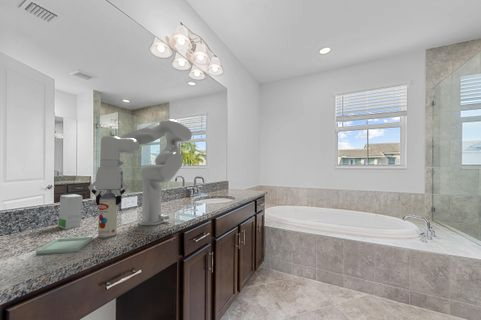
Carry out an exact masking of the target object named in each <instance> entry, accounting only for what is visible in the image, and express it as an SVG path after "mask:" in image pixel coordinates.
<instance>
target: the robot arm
mask: <svg viewBox="0 0 481 320" xmlns="http://www.w3.org/2000/svg"><path fill="white" fill-rule="evenodd" d="M162 137H166V138H165V140H166V144H165V145H166V146H165V147H164V148H163V150H161V152H159V154H158V155H157V156H156V157H155V161H154V163H155V164H154V163H153V164H147V165H145V166H144V167H143V168H142V169H141V174H140V175H141V181H142V204H141V205H142V206H141V209H142V210H141V211H142V212H141V219H140V220H139V221H138V225H140V226H147V227H149V226H156V225H161V224H163V223H164V222H165V220H169V219H170V215H168V214H165V215H164V214H163V212H162V194H163V192H162V191H163V190H162V185H161V183H162V184H163V183H168V182H170V181H172V180H173V178H174V177H175V175H176V174H177V173H178V172H179V170H180V169H181V168H182V165H183V162H184V158H183V155H182V154H181V153H180V148H179V147H180V146H179V144H178V143H184V142H185V143H187V142H189V141H190V140H191V139H192V137H193V135H192V131H191V129H190V128H189V127H188V126H186V125H184V124H183V123H181V122H179V121H178V120H175V119H161V120H158V121H156V122H154V123H152V124H149V125H147V126H145V127H142V128H139V129H136V130H133V131H131V132H127V133H125V134H123V135H122V134H121V135H120V136H113V135H104V136H101V138H100V149H99V150H100V152H99V155H100V157H99V167H97V170H96V175H95V181H94V182H93V183H91V184H89V186H88V187H87V188H88V190H89V191H90V192H91V193H92V194H93V195H94V196H95V203H96V206H99V201H100V197H102V196H103V195H101V194H102V193H103V191H107V190H111V191H115V193H116V194H117V195H115V196H116V205H118V206H119V205H120V204H121V203H122V195H123V194H125V192H126V191H127V190H129V189H130V185H128V184H127V183H126V182H124V172H123V167H121V166H123V165H124V161H121V155H132V154H136V153H137V152H138V151H139V149H140V146H141V145H145V144H146V145H147V144H151V143H153V142H155V141H157V140H158V139H160V138H162Z"/></svg>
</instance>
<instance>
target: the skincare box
mask: <svg viewBox="0 0 481 320" xmlns="http://www.w3.org/2000/svg"><path fill="white" fill-rule="evenodd" d="M82 207H83V195H80V194H76V193H72V194H62V195H60V197H59V208H58V210H59V211H58V224H57V226H58V228H61V229H64V230H69V229H73V228H79V227H81V221H82V211H83V210H82V209H83V208H82Z"/></svg>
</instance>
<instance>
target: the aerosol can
mask: <svg viewBox="0 0 481 320" xmlns="http://www.w3.org/2000/svg"><path fill="white" fill-rule="evenodd" d="M112 191H113V190H106V192H105V193H104V194H102V195H101V196H102V197H100V201H99V205H98V230H97V235H98V237H97V238H98V239H110V238H111V239H112V238H114V237H116V236H117V230H118V206H119V205H116V196H117V195H116V194H114V192H112Z"/></svg>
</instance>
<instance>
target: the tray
mask: <svg viewBox="0 0 481 320" xmlns="http://www.w3.org/2000/svg"><path fill="white" fill-rule="evenodd" d="M93 239H94V236H82V237H80V236H79V237H64V238H62V237H61V238H56V239H55V240H52V241H51V242H49V243H47V244H45V245H43V246H42V247H41V248H38V249H37V250H35V255H36V256H44V255H58V254H71V253H78V252H80V251H81V250H82V249H83V248H85V247H86V246H87V245H88V244H90V243H91V242H93Z"/></svg>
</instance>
